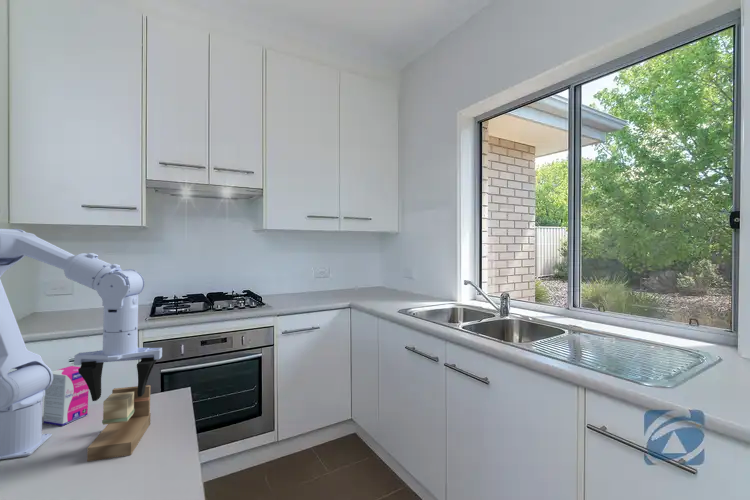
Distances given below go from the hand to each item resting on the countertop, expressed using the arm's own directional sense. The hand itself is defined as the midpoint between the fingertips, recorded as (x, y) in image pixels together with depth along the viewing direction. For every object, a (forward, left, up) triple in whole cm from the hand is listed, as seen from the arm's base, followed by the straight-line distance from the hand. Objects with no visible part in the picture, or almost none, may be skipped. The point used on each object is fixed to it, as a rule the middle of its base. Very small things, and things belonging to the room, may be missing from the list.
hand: (119, 396), depth 71 cm
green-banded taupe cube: (0, 0, -4) cm, 4 cm away
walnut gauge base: (0, +2, -10) cm, 10 cm away
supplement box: (-15, +16, -10) cm, 25 cm away
